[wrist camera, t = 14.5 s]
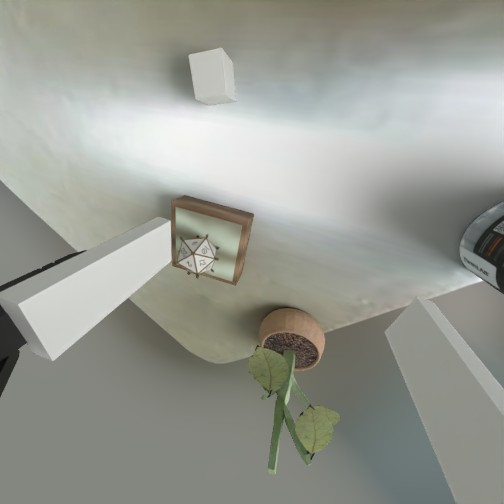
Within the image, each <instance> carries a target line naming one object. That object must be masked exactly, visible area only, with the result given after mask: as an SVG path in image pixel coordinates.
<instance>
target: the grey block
mask: <svg viewBox="0 0 504 504" xmlns="http://www.w3.org/2000/svg"><path fill="white" fill-rule="evenodd" d="M189 61H190V68H191V74H192V81H193V87H194V93H195V99H197V100H199V101H201V102H203V103H205V104H207V105H216V104H223V103H231V102H236V95H235V83H234V71H233V62H232V61H231V59H230V58H229V57H228V56H227V54H226V53H225V52H224V50H223V49H222V48H218V49H214V50H209V51H204V52H199V53H195V54H190V55H189Z"/></svg>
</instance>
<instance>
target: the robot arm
mask: <svg viewBox="0 0 504 504" xmlns="http://www.w3.org/2000/svg"><path fill="white" fill-rule="evenodd" d="M170 261H171V220H168V219H164V218H161V217H157V218H154V219H152V220H150V221H148V222H146V223H144V224H142V225H140V226H138V227H136V228H133V229H131V230H129V231H127V232H125V233H123V234H121V235H119V236H117V237H115V238H112V239H110V240H108V241H106V242H104V243H102V244H100V245H98V246H96V247H94V248H92V249H89V250H85V251H81V252H77V253H73V254H70V255H67V256H65V257H63V258H61V259H58V260H56V261H55V263H50V264H48V265H45V266H43V267H42V269H37V270H34V271H32V272H30V273H28V274H26V275H23V276H21V277H19V278H17V279H15V280H13V281H10V282H8V283H6V284H4V285H2V286H0V397H1V394H2V392H3V390H4V388H5V386H6V384H7V382H8V379H9V377H10V375H11V373H12V371H13V368H14V366H15V364H16V362H17V360H18V357H19V353H20V352H19V350H18V349H19V348H20V347H21V346H23V345H24V344H26V343H27V344H28V345H29V347H30V348H31V350H32V351H33V353H35V354H37V355H40V356H42V357H44V358H46V359H49V360H51V361H54V360H55V359H56V358H57V357H58V356H60V355H61V354H62V353H63V352H64V351H66V349H68V348H69V347H70V346H71V345H73V344H74V343H75V342H76V341H77V340H78V339H80V338H81V337H82V336H83V335H84V334H85V333H87V332H88V331H89V330H90V329H91V328H93V327H94V326H95V325H96V324H97V323H98V322H100V321H101V320H102V319H103V318H104V317H105V316H107V315H108V314H109V313H110V312H111V311H113V310H114V309H115V308H116V307H117V306H118V305H120V304H121V303H122V302H123V301H124V300H126V299H127V298H128V297H129V296H130V295H132V294H133V293H134V292H135V291H136V290H137V289H139V288H140V287H141V286H142V285H143V284H144V283H146V282H147V281H148V280H149V279H150V278H152V277H153V276H154V275H155V274H156V273H157V272H159V271H160V270H161V269H162V268H163V267H165V266H166V265H167V264H168V263H169V262H170ZM385 334H386V336H387V339H388V341H389V344H390V346H391V349H392V351H393V353H394V356H395V358H396V361H397V363H398V365H399V368H400V370H401V372H402V374H403V377H404V380H405V382H406V384H407V387H408V389H409V392H410V394H411V396H412V399H413V401H414V404H415V406H416V408H417V411H418V413H419V416H420V418H421V420H422V423H423V425H424V427H425V430H426V432H427V434H428V437H429V439H430V442H431V444H432V447H433V449H434V451H435V454H436V456H437V459H438V461H439V463H440V466H441V468H442V470H443V473H444V475H445V477H446V480H447V482H448V485H449V487H450V490H451V492H452V494H453V497H454V499H455V501H456V504H504V389H503V388H502V386H501V385H500V384H499V383H498V381H497V380H496V379H495V378H494V376H493V375H492V374H491V373H490V372H489V370H488V369H487V368H486V367H485V366H484V364H483V363H482V362H481V361H480V359H479V358H478V357H477V355H476V354H475V353H474V352H473V351H472V349H471V348H470V347H469V346H468V344H467V343H466V342H465V341H464V340H463V338H462V337H461V336H460V335H459V333H458V332H457V331H456V330H455V328H454V327H453V326H452V325H451V323H450V322H449V321H448V320H447V318H446V317H445V316H444V315H443V314H442V312H441V311H440V310H439V309H438V308H437V306H436V305H435V304H434V303H433V302H431V301H428V300H425V299H421V298H418V297H416V298H415V299H414V300H413V302H412V303H411V304H410V305H409V306H408V307H407V308H406V309H405V310H404V311H403V312H402V314H401V315H400V316H399V317H398V318H397V319H396V320H395V321H394V323H392V325H391V326H390V327H389V328H388V329H387V330H386V331H385Z"/></svg>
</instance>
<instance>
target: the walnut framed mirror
mask: <svg viewBox="0 0 504 504" xmlns="http://www.w3.org/2000/svg"><path fill="white" fill-rule="evenodd" d="M253 216H254V214H252V213H248V212H245V211H241V210H237V209H233V208H230V207H226V206H222V205H218V204H215V203H211V202H207V201H203V200H200V199H196V198H192V197H188V196H182V197H180V198H177V199H174V200H172V257H173V263H174V262H177V259H178V255H179V252H178V251H179V250H180V247H181V243H182V240H181V239H180V238H179V236H180V237H182V238H183V239H192V238H197V235H198V236H199V238H205V237H206V235H207V234H208V238H207V239H208V240H209V241H210V242H211V243H212V245H213V246H214V247H215V248H216V247H220V248H219V249H218V250H216V258H218V259H219V260H218V261H216V260H215V262H214V264H213V267H212V269H213V270H214V272H212V271H211V270H209V271H206V272H203V273H201V274H200V275H203V276H206V277H210V278H213V279H216V280H219V281H222V282H226V283H229V284H232V285H235V286H236V284H237V282H238V280H239V278H240V276H241V274H242V270H243V265H244V260H245V255H246V250H247V246H248V241H249V236H250V231H251V226H252V221H253ZM173 266H174V267H178V268H181V269H184V270H186V269H185V268H183V267H182V266H180V265H179V264H175V265H173Z"/></svg>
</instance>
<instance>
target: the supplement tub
mask: <svg viewBox="0 0 504 504" xmlns="http://www.w3.org/2000/svg"><path fill="white" fill-rule="evenodd" d="M459 250H460V257H461V260H462V262H463V263H464V265H465V266H466V267H467V268H468V269H469V270H470V271H471V272H472V273H474V274H475V275H476V276H478V277H479V278H481V279H482V280H484V281H485V282H487V283H488V284H490V285H491V286H493V287H494V288H495V289H497V290H498V291H500V292H501V293H503V294H504V201H503V202H501V203H499V204H497V205H495V206H493V207H492V208H490V209H488V210H487V211H485V212H484V213H483V214H481V215H480V216H479V217H477V218H476V219H475V220H474V221H473V222H472V223H471V224H470V225H469V227H468V228H467V229H466V231H465V233H464V234H463V236H462V239H461V242H460V249H459Z"/></svg>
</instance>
